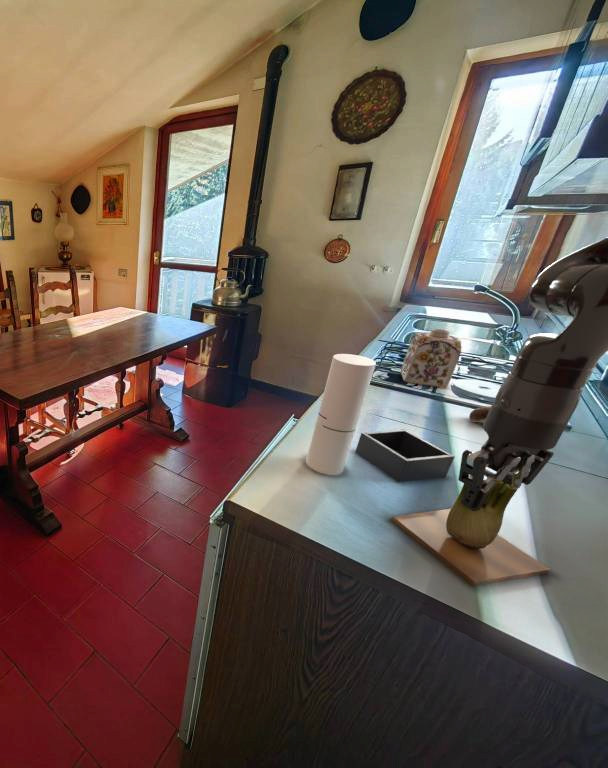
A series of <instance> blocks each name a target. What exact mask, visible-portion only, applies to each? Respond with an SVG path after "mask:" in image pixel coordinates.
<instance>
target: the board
mask: <svg viewBox="0 0 608 768" xmlns="http://www.w3.org/2000/svg"><path fill="white" fill-rule="evenodd" d="M450 510H451V508H446V509H439V510H430V511H423V512H415V513H405V514H398V515H392V516H391V518H390V521H392V522H394V524H396V525H397V526H398V527H399V528H401V529H402V530H403V531H404V532H406V533H407V534H408V535H409V536H411V538H413V539H414V540H415V541H416V542H418V543H419V544H421V545H422V546H423V547H425V549H426V550H428V551H429V552H430V553H431V554H433V555H434V556H436V558H438V559H439V560H440V561H442V562H443V563H444V564H446V566H448V567H449V568H450V569H451V570H453V571H454V572H455V573H456V574H458V575H459V576H460V577H461V578H463V580H465V581H467V582H468V583H469V584H470V585H471V586H474V587H475V586H479V585H485V584H486V585H487V584H493V583H498V582H503V581H510V580H517V579H523V578H527V577H533V576H540V575H546V574H549V572H550V571H551V569H550V568H549V567H548V566H546V565H544V564H543V563H541V562H540V561H538V560H537V559H535V558H534V557H533V556H531V555H530V554H527V553H526V552H524V551H523V550H522V549H520V548H518V547H517V546H515V545H514V544H513V543H511V542H509V541H508V540H507V539H506V538H503V537H502V536H500V535H499V534H498V535H497V536H496V538H495V540H494V541H493V542H492V543H490V544H489V545H487V546H486V547H485V548H481V549H476V548H471V547H468V546H465V545H463V544H462V543H460V542H459V541H457V540H456V539H455V538H453V537H452V536H451V535H449V534H448V533H447V529H446V522H447V518H448V514H449V512H450Z"/></svg>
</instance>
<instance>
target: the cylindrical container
mask: <svg viewBox="0 0 608 768" xmlns="http://www.w3.org/2000/svg"><path fill="white" fill-rule="evenodd" d="M376 366H377V362H376V361H375V360H374V359H372V358H369V357H366V356H363V355H357V354H351V353H337V354H334V355H333V356H332V360H331V364H330V368H329V371H328V376H327V379H326V382H325V386H324V391H323V395H322V398H321V402H320V406H319V409H318V413H317V417H316V421H315V424H314V427H313V428H314V430H313V433H312V436H311V441H310V444H309V447H308V451H307V455H306V458H305V463H306V465H307V466H308V467H309V468H310V469H311V470H313V471H315V472H317V473H320V474H322V475H328V476H339V475H341V474H342V473H343V472H344V469H345V466H346V463H347V459H348V455H349V452H350V450H351V447H352V443H353V439H354V436H355V433H356V429H357V427H358V423H359V420H360V417H361V413H362V410H363V407H364V404H365V401H366V398H367V394H368V390H369V388H370V384H371V381H372V378H373V374H374V372H375V368H376Z"/></svg>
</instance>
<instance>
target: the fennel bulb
mask: <svg viewBox="0 0 608 768" xmlns="http://www.w3.org/2000/svg"><path fill="white" fill-rule="evenodd" d="M486 480H487V479H484V480H483V483H484V482H485V481H486ZM503 484H504V482H502V481H497V482H495V484H494V485H493V486H492V488H491V489H490V490H489V491H488V494H487V496H486V498H485V500H484V502H483V504H482V506H481V508H480V510H479V511H472V510H470V509H469V508H467V507H466V506H464V505H463V504H462V502H461V501H462V499H463V497H464V494H465V492H466V490H467V488H468V485H466V484H464V483H463V485H462V487H461V490H460V492H459V494H458V496H457V498H456V500H455V502H454V503H453V505H452V506H451V508H450V509H451V510H450V512H449V514H448V518H447V522H446V529H447V533H448V534H449V535H451V536H452V537H453V538H455V539H456V540H457V541H459V542H460V543H462V544H463V545H465V546H468V547H471V548H476V549H481V548H485V547H486V546H487V545H489V544H490V543H492V542H493V541H494V540H495V538H496V536H497V535H499V533H500V530H501V528H502V525H503V520H504V515H505V511H506V508H507V507H508V505H509V503H510V501H511V500H512V499H513V497H514V495H515V494H516V492H517V491H518V489H517V488H515V487H513V486H512V485H509V484H505V485H504V486H503ZM502 486H503V488H502ZM501 488H502V489H501ZM500 489H501V491H500ZM499 491H500V492H499Z"/></svg>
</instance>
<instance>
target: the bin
mask: <svg viewBox="0 0 608 768" xmlns="http://www.w3.org/2000/svg"><path fill="white" fill-rule="evenodd" d="M355 454H357V455H358V456H360V457H362V458H363V459H364V460H366V461H367V462H369V463H370V464H371V465H373V466H375V467H376V468H377V469H379V470H380V471H382V472H383V473H385V474H386V475H387V476H389V477H390V478H392V479H393V480H395V481H396V482H397V483H406V482H417V481H425V480H431V479H432V480H434V479H443V478H447V476H448V474H449V471H450V469H451V466H452V464H453V462H454V460H455V455H453V454H451V453H449V452H448V451H445V450H444V449H442V448H441V447H438V446H437V445H435V444H433V443H431V442H429V441H427V440H425V439H424V438H421V437H420V436H418V435H416V434H414V433H412V432H410V431H409V430H407V429H405V428H404V429H392V430H380V431H368V432H361V433H360V436H359V439H358V442H357V445H356V448H355Z"/></svg>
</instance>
